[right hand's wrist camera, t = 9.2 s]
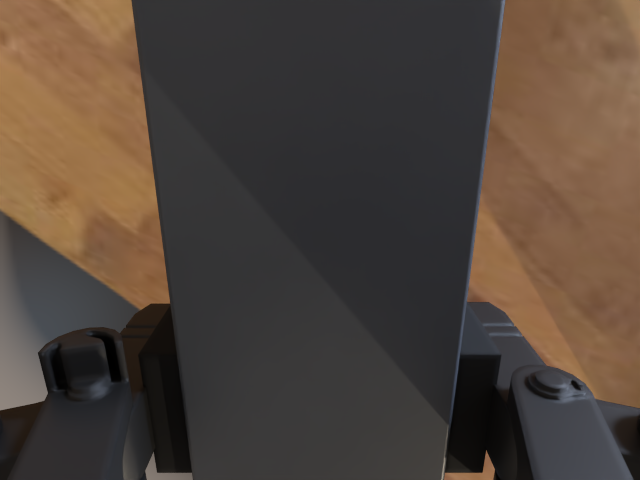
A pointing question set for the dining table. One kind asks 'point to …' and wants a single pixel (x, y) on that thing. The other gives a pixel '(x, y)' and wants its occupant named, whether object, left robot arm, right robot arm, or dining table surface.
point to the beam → (318, 224)
